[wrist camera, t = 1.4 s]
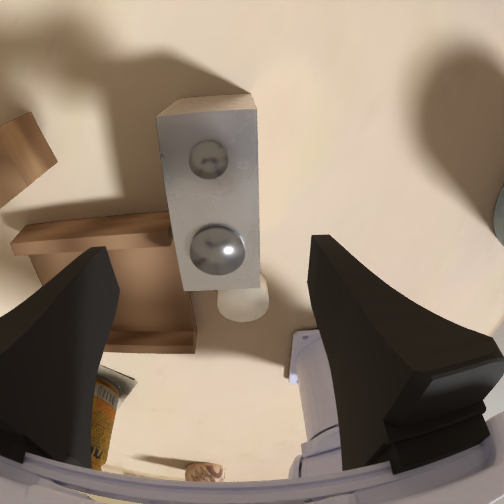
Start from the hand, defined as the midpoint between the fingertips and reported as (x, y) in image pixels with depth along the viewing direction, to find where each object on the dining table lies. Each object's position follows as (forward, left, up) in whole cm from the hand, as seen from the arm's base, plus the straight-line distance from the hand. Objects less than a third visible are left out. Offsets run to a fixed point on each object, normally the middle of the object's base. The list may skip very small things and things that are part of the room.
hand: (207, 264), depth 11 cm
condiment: (+16, +23, -10) cm, 30 cm away
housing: (0, 0, -9) cm, 9 cm away
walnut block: (+13, -3, -9) cm, 16 cm away
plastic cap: (-1, +9, -9) cm, 13 cm away
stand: (+9, +8, -9) cm, 15 cm away
